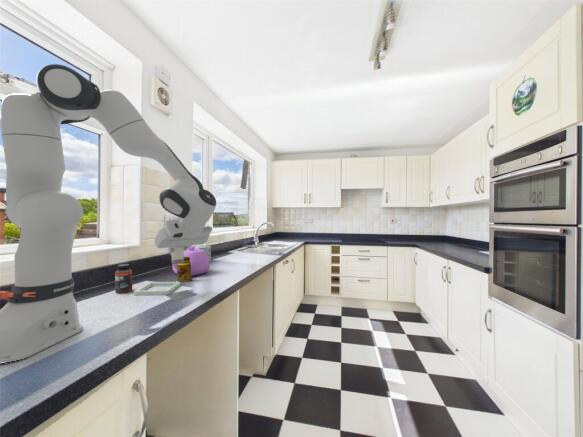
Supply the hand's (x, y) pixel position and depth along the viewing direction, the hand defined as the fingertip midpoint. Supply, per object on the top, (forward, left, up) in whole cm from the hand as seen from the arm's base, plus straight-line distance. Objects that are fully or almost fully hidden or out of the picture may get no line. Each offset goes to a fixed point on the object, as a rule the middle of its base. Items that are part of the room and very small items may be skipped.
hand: (176, 250), depth 99 cm
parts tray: (+5, +9, -18) cm, 21 cm away
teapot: (+36, +6, -19) cm, 41 cm away
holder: (-2, -3, -18) cm, 19 cm away
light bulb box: (+68, +9, -19) cm, 71 cm away
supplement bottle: (+7, +24, -18) cm, 31 cm away
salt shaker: (0, 0, -5) cm, 5 cm away
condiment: (+21, +4, -19) cm, 28 cm away
